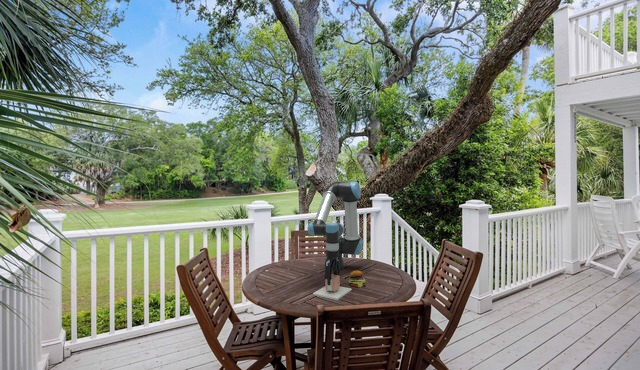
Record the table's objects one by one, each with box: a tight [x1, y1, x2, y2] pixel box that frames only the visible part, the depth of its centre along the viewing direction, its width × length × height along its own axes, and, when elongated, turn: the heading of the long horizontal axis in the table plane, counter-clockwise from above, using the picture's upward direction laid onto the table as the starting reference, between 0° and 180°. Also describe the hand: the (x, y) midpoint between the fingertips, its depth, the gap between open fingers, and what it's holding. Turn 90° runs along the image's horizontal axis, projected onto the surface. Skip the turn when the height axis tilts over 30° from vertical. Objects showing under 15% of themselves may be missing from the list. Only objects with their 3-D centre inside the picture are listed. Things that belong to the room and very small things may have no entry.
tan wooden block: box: [324, 273, 341, 292], centre depth 201 cm, size 6×6×8 cm
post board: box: [312, 286, 352, 301], centre depth 201 cm, size 18×16×7 cm
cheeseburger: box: [348, 270, 366, 288], centre depth 214 cm, size 10×11×10 cm
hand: (332, 288), depth 201 cm, fingers closed on tan wooden block, 6 cm apart
